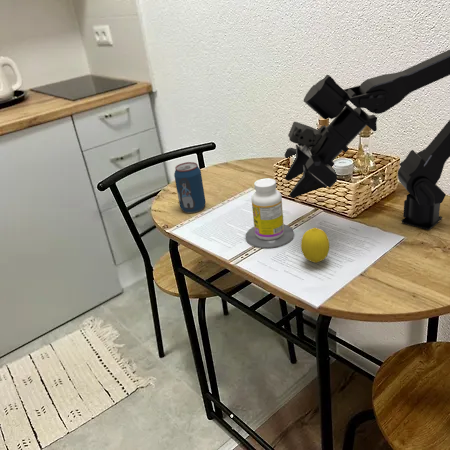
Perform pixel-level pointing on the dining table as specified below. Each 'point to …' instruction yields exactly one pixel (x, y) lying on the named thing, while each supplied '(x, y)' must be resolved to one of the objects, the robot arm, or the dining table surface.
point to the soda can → (189, 187)
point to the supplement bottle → (267, 210)
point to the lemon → (315, 245)
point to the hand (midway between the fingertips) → (288, 187)
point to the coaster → (275, 243)
